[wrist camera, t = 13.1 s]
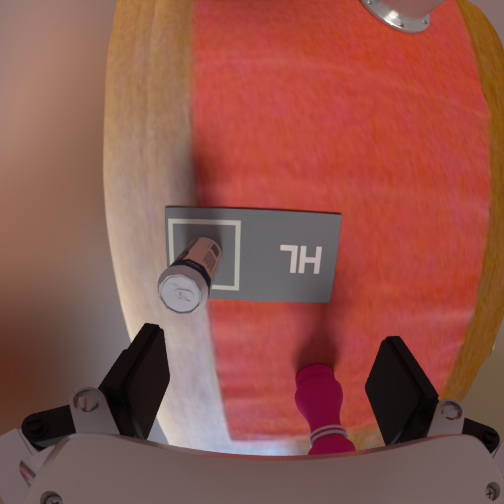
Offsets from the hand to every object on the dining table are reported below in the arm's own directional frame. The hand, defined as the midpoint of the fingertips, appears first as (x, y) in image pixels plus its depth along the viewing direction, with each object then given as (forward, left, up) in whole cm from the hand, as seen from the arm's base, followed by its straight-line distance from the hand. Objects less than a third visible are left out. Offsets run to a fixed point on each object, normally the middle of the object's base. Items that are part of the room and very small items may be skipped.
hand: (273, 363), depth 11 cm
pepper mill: (+23, +9, -24) cm, 35 cm away
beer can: (+3, -8, -24) cm, 26 cm away
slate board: (+3, -2, -24) cm, 24 cm away
